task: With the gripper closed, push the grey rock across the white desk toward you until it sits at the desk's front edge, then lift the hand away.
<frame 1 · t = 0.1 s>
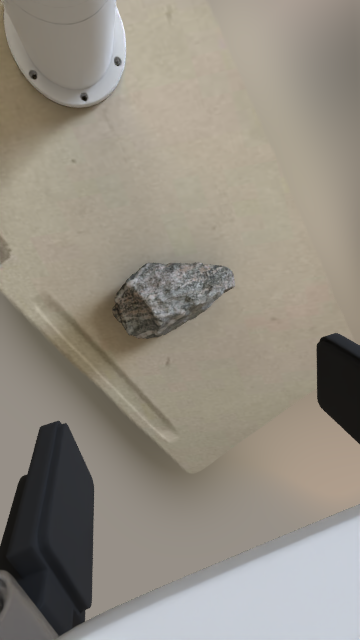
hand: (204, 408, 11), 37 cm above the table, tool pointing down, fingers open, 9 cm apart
rock: (168, 287, 48), on the table
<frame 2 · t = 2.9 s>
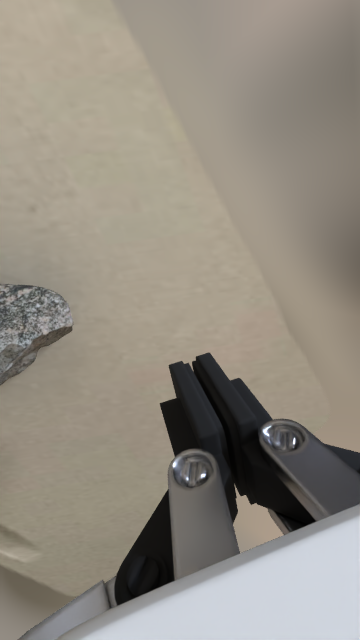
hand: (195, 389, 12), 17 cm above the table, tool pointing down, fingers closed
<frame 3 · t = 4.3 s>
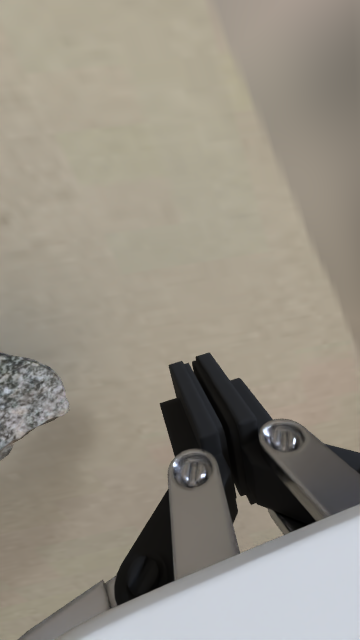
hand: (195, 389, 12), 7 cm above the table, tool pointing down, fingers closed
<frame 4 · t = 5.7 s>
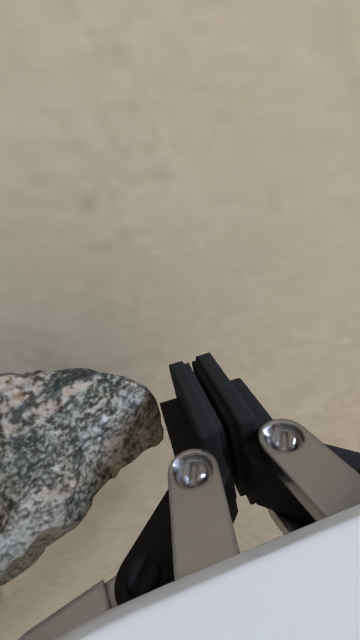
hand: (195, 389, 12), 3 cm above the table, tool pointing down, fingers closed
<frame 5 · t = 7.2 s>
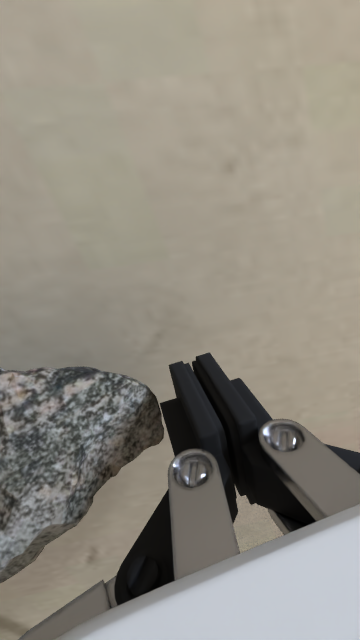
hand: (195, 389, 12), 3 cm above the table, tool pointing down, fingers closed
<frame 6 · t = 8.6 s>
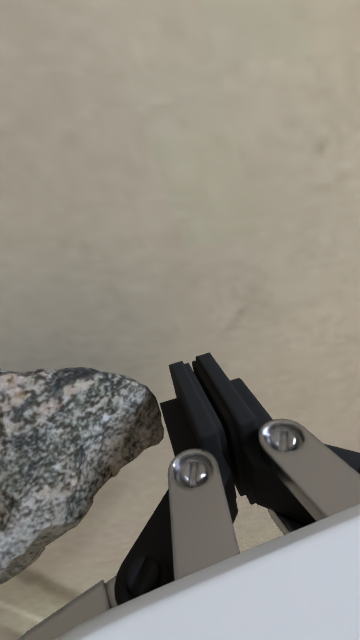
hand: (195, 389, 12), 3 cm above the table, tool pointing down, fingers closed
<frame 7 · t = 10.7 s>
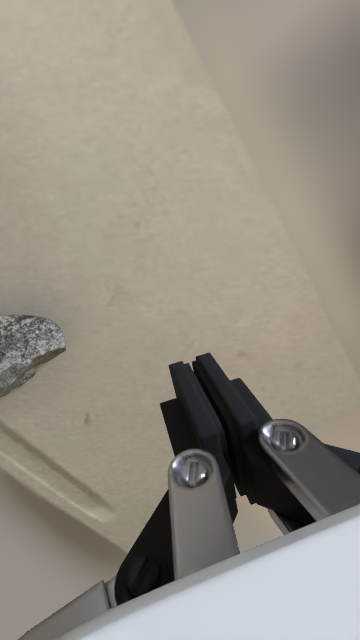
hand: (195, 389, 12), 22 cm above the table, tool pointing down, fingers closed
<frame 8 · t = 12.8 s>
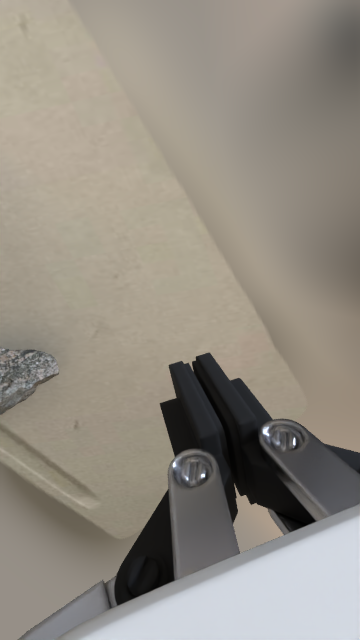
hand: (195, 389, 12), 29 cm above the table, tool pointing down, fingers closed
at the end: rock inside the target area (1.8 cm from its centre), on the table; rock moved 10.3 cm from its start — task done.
